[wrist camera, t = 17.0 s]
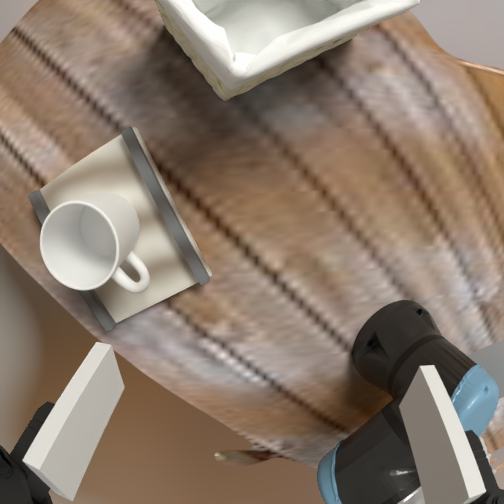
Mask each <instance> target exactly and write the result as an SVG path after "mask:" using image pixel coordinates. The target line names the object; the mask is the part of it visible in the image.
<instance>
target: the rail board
mask: <svg viewBox="0 0 504 504" xmlns="http://www.w3.org/2000/svg"><path fill="white" fill-rule="evenodd" d="M120 133H121V135H120V136H118V137H116V138H115V139H113V140H111V141H110V142H108V143H107V144H105V145H103V146H102V147H100V148H99V149H97V150H96V151H94V152H92V153H91V154H89V155H88V156H86V157H85V158H83V159H82V160H80V161H79V162H77V163H76V164H75V165H73V166H72V167H70V168H69V169H67V170H66V171H65V172H63V173H62V174H60V175H59V176H58V177H56V178H55V179H54V180H52V181H51V182H50V183H48V184H47V185H46V186H44V187H43V188H42V189H40V190H36V191H34V192H32V193H31V194H30V195H29V196H28V197H29V199H30V201H31V204H32V206H33V208H34V210H35V212H36V214H37V216H38V218H39V220H40V222H41V224H42V226H43V223H44V221H45V219H46V218H47V216H48V215H49V213H50V212H51V211H52V210H53V209H54V208H56V207H57V206H59V205H60V204H62V203H65V202H68V201H71V200H75V199H78V198H81V197H85V196H88V195H91V194H95V193H99V192H113V193H117V194H119V195H121V196H123V197H125V198H126V199H127V200H128V201H129V202H130V203H131V204H132V205H133V207H134V208H135V210H136V212H137V215H138V218H139V225H140V230H139V236H138V240H137V242H136V244H135V246H134V248H133V249H132V251H133V252H134V253H135V254H136V255H137V256H138V257H139V258H140V259H141V260H142V262H143V263H144V264H145V266H146V267H147V269H148V272H149V275H150V282H149V285H148V287H147V289H146V290H145V291H143V292H141V293H137V294H134V293H130V292H128V291H126V290H125V289H123V288H122V287H121V286H119V285H118V284H117V283H116V282H115V281H114V280H113V279H112V278H111V277H110V279H109V280H108V281H107V282H105V283H104V284H103V285H101V286H100V287H98V288H95V289H92V290H79V292H80V293H81V295H82V296H83V298H84V300H85V301H86V303H87V304H88V306H89V307H90V309H91V310H92V312H93V313H94V315H95V316H96V318H97V319H98V321H99V322H100V324H101V325H102V326H103V328H104V329H105V331H106V332H108V331H110V330H112V329H114V327H115V325H116V323H118V322H120V321H122V320H124V319H126V318H128V317H130V316H132V315H134V314H136V313H138V312H140V311H142V310H144V309H146V308H148V307H150V306H152V305H154V304H156V303H158V302H160V301H162V300H164V299H166V298H168V297H170V296H172V295H174V294H176V293H178V292H180V291H182V290H184V289H186V288H188V287H190V286H192V285H194V284H196V283H198V282H199V283H200V285H203V284H205V283H207V282H209V281H210V276H212V272H211V270H210V268H209V266H208V264H207V262H206V261H205V259H204V257H203V255H202V253H201V251H200V250H199V248H198V246H197V244H196V242H195V240H194V238H193V237H192V235H191V233H190V231H189V229H188V227H187V225H186V223H185V222H184V220H183V218H182V216H181V214H180V212H179V210H178V208H177V206H176V204H175V202H174V201H173V199H172V197H171V195H170V193H169V191H168V189H167V187H166V185H165V183H164V181H163V179H162V177H161V175H160V173H159V171H158V169H157V167H156V165H155V163H154V161H153V159H152V157H151V155H150V153H149V151H148V149H147V147H146V145H145V143H144V141H143V139H142V137H141V135H140V133H139V131H138V128H136V127H133V128H131V127H128V128H126V129H124V130H123V131H121V132H120ZM119 267H120V268H121V269H122V270H123V271H124V273H125V274H126V275H127V276H128V277H129V278H130V279H131V280H133V281H134V282H139V281H140V275H139V273H138V272H137V270H136V269H135V268H134V267H133V266H132V265H131V264H130V263H129V262H127V261H126V260H125V259H124V261H123V262H122V263H121V264H120V266H119Z"/></svg>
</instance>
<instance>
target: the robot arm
mask: <svg viewBox="0 0 504 504" xmlns="http://www.w3.org/2000/svg"><path fill="white" fill-rule="evenodd" d="M353 361H354V364H355V367H356V368H357V370H358V371H359V373H360V374H361V375H362V377H363V378H364V379H366V380H367V381H368V382H370V383H372V384H374V385H376V386H377V387H379V388H381V389H383V390H385V391H387V392H389V394H390V395H391V396H392V397H393V399H392V400H391V401H390V402H389V403H388V404H387V405H386V406H385V407H384V408H383V409H381V410H380V411H379V412H378V413H377V414H376V415H375V416H373V417H372V418H371V419H370V420H369V421H367V422H366V423H365V424H364V425H363V426H361V427H360V428H359V429H358V430H356V431H355V432H354V433H353V434H351V435H350V436H349V437H347V438H346V439H345V440H342V441H340V442H339V443H338V444H337V445H336V447H335V448H333V449H332V450H331V451H330V452H328V453H327V454H326V455H325V456H324V457H323V458H322V459H321V460H320V462H319V465H318V471H317V482H318V486H319V490H320V493H321V495H322V497H323V499H324V501H325V503H326V504H504V490H502V489H499V487H498V485H497V483H496V480H495V477H494V474H493V472H492V469H491V466H490V464H489V461H488V458H486V453H485V451H484V450H483V446H482V443H481V441H480V439H479V437H480V435H481V434H482V433H483V431H484V430H485V429H486V427H487V425H488V424H489V422H490V420H491V419H492V417H493V415H494V412H495V410H496V407H497V404H498V400H499V389H498V386H497V383H496V382H495V381H494V380H493V379H492V378H491V377H490V376H489V375H488V374H487V373H486V372H485V370H484V368H483V367H482V366H480V365H477V364H476V363H475V362H474V361H472V360H471V359H470V358H469V357H467V356H466V355H465V354H464V353H462V352H461V351H460V350H459V349H458V348H456V347H455V346H454V345H453V344H451V343H450V342H449V341H448V340H446V339H445V338H444V337H443V336H442V335H441V333H440V331H439V329H438V328H437V326H436V324H435V322H434V320H433V318H432V317H431V315H430V313H429V312H428V311H427V310H426V309H425V308H423V307H422V306H420V305H419V304H418V303H416V302H414V301H409V300H401V301H397V302H393V303H391V304H389V305H387V306H385V307H383V308H382V309H380V310H379V311H378V312H376V313H375V314H374V315H373V316H372V317H371V318H370V319H369V320H368V321H367V322H366V324H365V325H364V326H363V328H362V329H361V331H360V333H359V335H358V337H357V339H356V342H355V345H354V350H353ZM123 390H124V384H123V381H122V378H121V375H120V372H119V369H118V365H117V362H116V359H115V356H114V352H113V348H112V345H109V344H104V343H99V342H96V344H95V345H94V347H93V348H92V349H91V351H90V352H89V354H88V355H87V357H86V358H85V360H84V361H83V363H82V364H81V366H80V367H79V369H78V370H77V372H76V373H75V375H74V376H73V378H72V379H71V381H70V382H69V384H68V385H67V387H66V389H65V390H64V392H63V393H62V395H61V396H60V398H59V400H58V401H57V403H56V404H53V403H51V402H46V403H45V404H44V405H42V406H41V407H40V408H38V410H37V411H36V413H35V415H34V416H33V419H32V420H31V421H30V423H29V424H28V427H26V429H25V430H24V432H23V434H22V435H21V437H20V439H19V440H18V442H17V444H16V445H15V447H14V449H13V451H12V452H11V453H10V455H9V454H8V452H7V451H6V450H5V449H4V448H3V447H2V446H0V504H53V503H52V500H51V497H50V495H49V493H48V492H49V490H50V488H51V489H52V490H53V491H54V492H55V493H56V494H58V495H60V496H62V497H64V498H66V499H69V500H71V501H73V499H74V497H75V494H76V492H77V490H78V487H79V485H80V482H81V480H82V478H83V476H84V473H85V471H86V469H87V467H88V464H89V462H90V460H91V458H92V455H93V453H94V451H95V449H96V447H97V444H98V442H99V440H100V438H101V436H102V433H103V431H104V429H105V427H106V425H107V423H108V421H109V419H110V417H111V414H112V412H113V410H114V408H115V406H116V404H117V402H118V400H119V398H120V396H121V394H122V392H123Z"/></svg>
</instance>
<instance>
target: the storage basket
mask: <svg viewBox="0 0 504 504" xmlns="http://www.w3.org/2000/svg"><path fill="white" fill-rule="evenodd" d="M155 2H156V4H157V6H158V9H159V12H160V14H161V17H162V19H163V21H164V24H165V26H166V28H167V30H168V32H169V33H170V34H171V35H172V36H173V37H174V39H175V41H176V42H177V43H178V44H179V45H180V46H181V47H182V49H183V51H184V52H185V53H186V55H187V56H189V57H190V58H191V59H192V62H193V64H194V65H195V67H196V68H197V69H198V70H199V71H200V72H201V73H202V74H203V76H204V77H205V79H206V81H207V82H208V83H209V85H211V86H212V88H213V90H214V91H215V92H216V94H217V95H218V96H219V97H220V98H221V99H222V100H224V101H227V100H229V99H231V98H232V97H234V96H236V95H240V94H243V93H245V92H247V91H249V90H251V89H252V88H253V87H254V86H257V85H259V84H261V83H262V82H264V81H265V80H268V79H269V78H273V77H276V76H278V75H280V74H282V73H283V72H285V71H287V70H289V69H291V68H293V67H296V66H298V65H300V64H302V63H303V62H305V61H306V60H309V59H312V58H314V57H316V56H317V55H319V54H320V53H322V52H323V51H326V50H329V49H332V48H334V47H336V46H338V45H339V44H343V43H344V42H347V41H348V40H350V39H352V38H354V37H355V36H357V34H359V33H360V32H363V31H366V30H368V29H369V28H370V27H373V26H374V25H376V24H379V23H380V22H382V21H385V20H388V19H390V18H393V17H395V16H398V15H401V14H403V13H405V12H407V11H408V10H409V9H411V8H412V7H414V6H416V5H418V4H419V2H420V0H155Z"/></svg>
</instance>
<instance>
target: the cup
mask: <svg viewBox="0 0 504 504" xmlns="http://www.w3.org/2000/svg"><path fill="white" fill-rule="evenodd" d="M139 230H140V225H139V218H138V215H137V212H136V210H135V208H134V207H133V205H132V204H131V203H130V202H129V201H128V200H127V199H126V198H125V197H123V196H121V195H119V194H117V193H113V192H99V193H95V194H91V195H88V196H85V197H81V198H78V199H75V200H71V201H68V202H65V203H62V204H60V205H59V206H57V207H56V208H54V209H53V210H52V211H51V212H50V213H49V215H48V216H47V218H46V219H45V221H44V223H43V226H42V229H41V234H40V249H41V254H42V257H43V260H44V263H45V265H46V267H47V268H48V270H49V272H50V273H51V274H52V275H53V276H54V277H55V278H56V279H57V280H58V281H59V282H60V283H62V284H63V285H65V286H67V287H69V288H72V289H75V290H92V289H95V288H98V287H100V286H101V285H103V284H104V283H105V282H107V281H108V280H109V279H110V277H111V278H112V279H113V280H114V281H115V282H116V283H117V284H118V285H119V286H121V287H122V288H123V289H125V290H126V291H128V292H130V293H134V294H137V293H141V292H143V291H145V290H146V289H147V287H148V285H149V282H150V275H149V272H148V269H147V267H146V266H145V264H144V263H143V262H142V260H141V259H140V258H139V257H138V256H137V255H136V254H135V253H134V252H133V251H132V249H133V248H134V246H135V244H136V242H137V240H138V236H139ZM124 259H125V260H126V261H127V262H129V263H130V264H131V265H132V266H133V267H134V268H135V269H136V270H137V272H138V273H139V275H140V281H139V282H134V281H133V280H131V279H130V278H129V277H128V276H127V275H126V274H125V273H124V271H123V270H122V269H121V268H120V267H119V266H120V264H121V263H122V262H123V261H124Z"/></svg>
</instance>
